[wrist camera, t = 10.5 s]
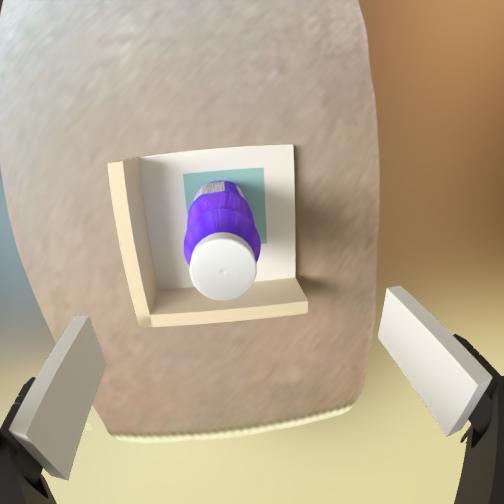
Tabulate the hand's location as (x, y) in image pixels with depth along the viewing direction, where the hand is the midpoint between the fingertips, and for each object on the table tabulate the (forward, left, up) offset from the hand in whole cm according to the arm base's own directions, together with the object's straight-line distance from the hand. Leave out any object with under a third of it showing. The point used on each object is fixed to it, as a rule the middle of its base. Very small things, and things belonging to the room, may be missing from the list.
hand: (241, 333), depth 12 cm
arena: (+2, -2, -24) cm, 25 cm away
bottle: (0, -1, -24) cm, 24 cm away
